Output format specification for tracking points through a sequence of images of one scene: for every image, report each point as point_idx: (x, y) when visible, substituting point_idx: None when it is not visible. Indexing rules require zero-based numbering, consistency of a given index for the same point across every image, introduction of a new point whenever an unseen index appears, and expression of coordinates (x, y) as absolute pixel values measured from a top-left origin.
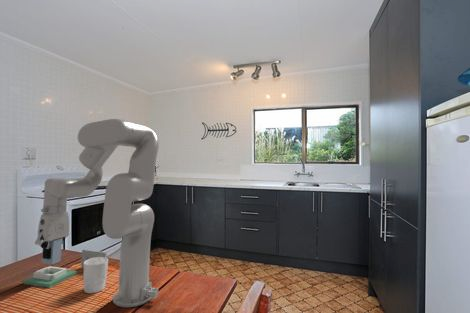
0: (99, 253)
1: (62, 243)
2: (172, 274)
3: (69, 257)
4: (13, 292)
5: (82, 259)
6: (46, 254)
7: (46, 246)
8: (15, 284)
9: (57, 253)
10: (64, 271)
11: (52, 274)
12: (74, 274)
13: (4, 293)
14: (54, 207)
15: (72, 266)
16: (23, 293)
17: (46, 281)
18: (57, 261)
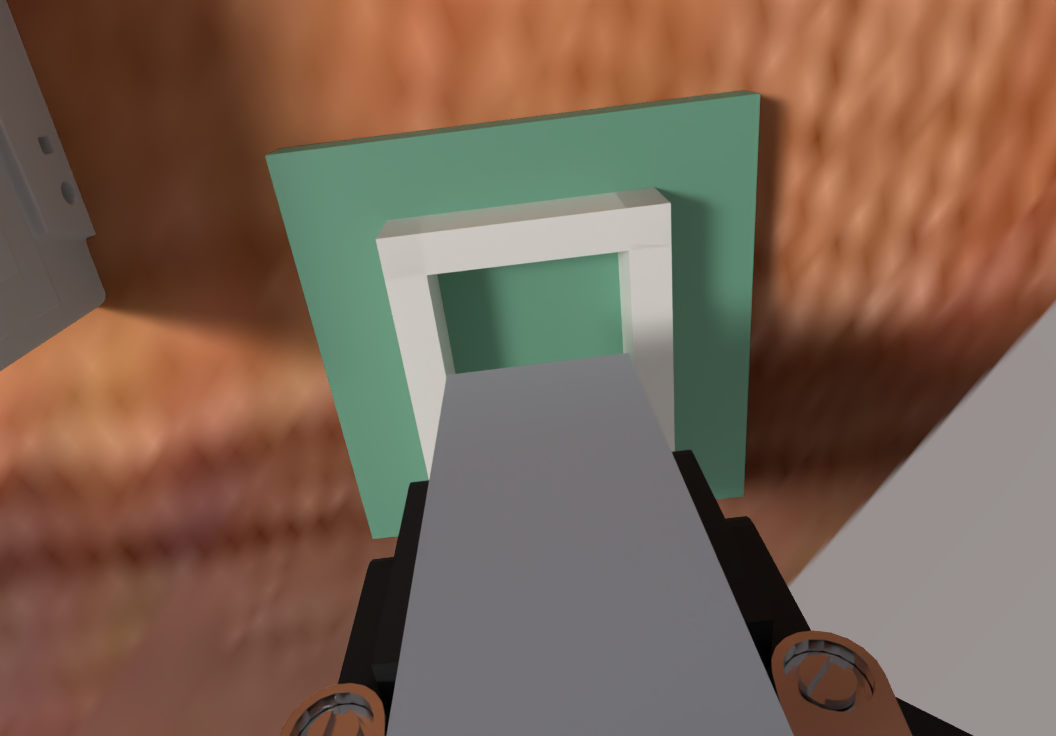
0: None
1: (304, 710)
2: None
3: (41, 685)
4: (916, 364)
5: (19, 337)
6: (761, 546)
7: (893, 729)
8: (759, 517)
9: (538, 465)
10: (442, 224)
11: (633, 243)
12: (320, 144)
13: (946, 418)
14: None
15: (163, 438)
16: (926, 244)
17: (695, 230)
18: (517, 374)
